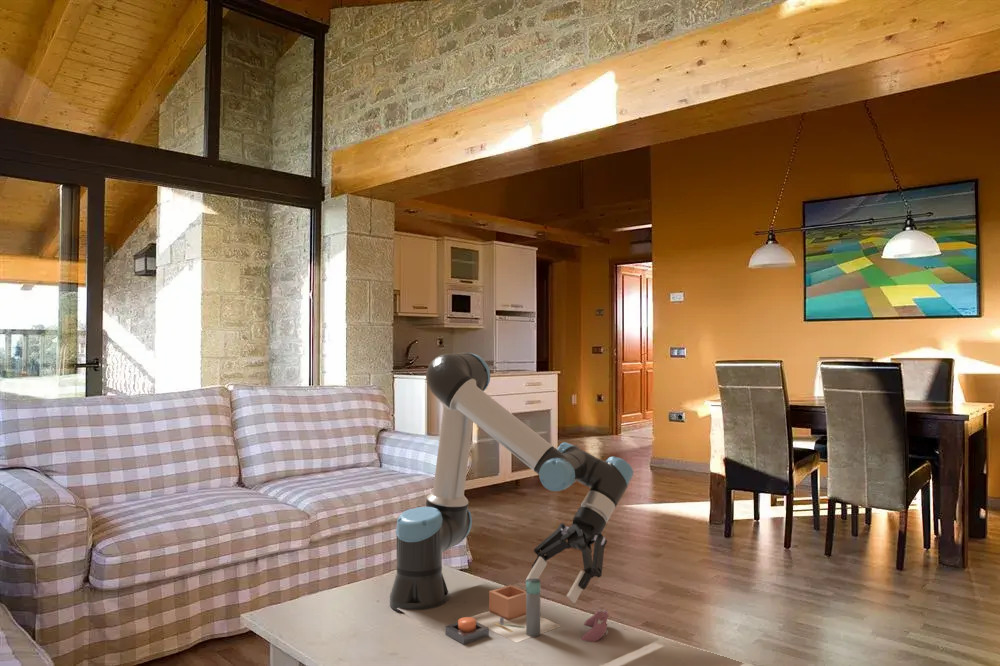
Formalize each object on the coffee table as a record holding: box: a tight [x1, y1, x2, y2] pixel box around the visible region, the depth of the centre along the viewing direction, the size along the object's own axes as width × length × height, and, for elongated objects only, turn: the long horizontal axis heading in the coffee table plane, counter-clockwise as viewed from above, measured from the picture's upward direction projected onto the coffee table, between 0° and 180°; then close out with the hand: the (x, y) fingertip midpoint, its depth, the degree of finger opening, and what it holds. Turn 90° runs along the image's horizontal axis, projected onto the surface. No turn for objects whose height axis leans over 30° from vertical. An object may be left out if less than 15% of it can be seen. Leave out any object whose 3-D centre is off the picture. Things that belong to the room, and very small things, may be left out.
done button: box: [457, 616, 476, 633], centre depth 159 cm, size 4×4×2 cm
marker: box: [525, 578, 541, 638], centre depth 160 cm, size 3×3×12 cm
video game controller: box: [581, 609, 610, 642], centre depth 160 cm, size 10×5×7 cm, turn 169°
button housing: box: [445, 622, 490, 646], centre depth 159 cm, size 7×7×3 cm
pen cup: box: [488, 584, 526, 621], centre depth 172 cm, size 7×7×5 cm
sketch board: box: [470, 610, 562, 644], centre depth 166 cm, size 20×16×1 cm
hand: (549, 591), depth 161 cm, fingers open, 13 cm apart
